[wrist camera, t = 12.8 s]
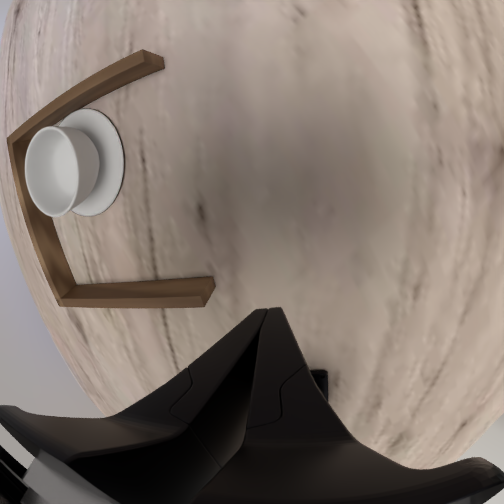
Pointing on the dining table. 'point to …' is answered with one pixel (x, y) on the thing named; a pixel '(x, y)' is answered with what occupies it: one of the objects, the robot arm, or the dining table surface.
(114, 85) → the corral
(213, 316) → the dining table surface
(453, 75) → the dining table surface
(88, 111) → the teacup
